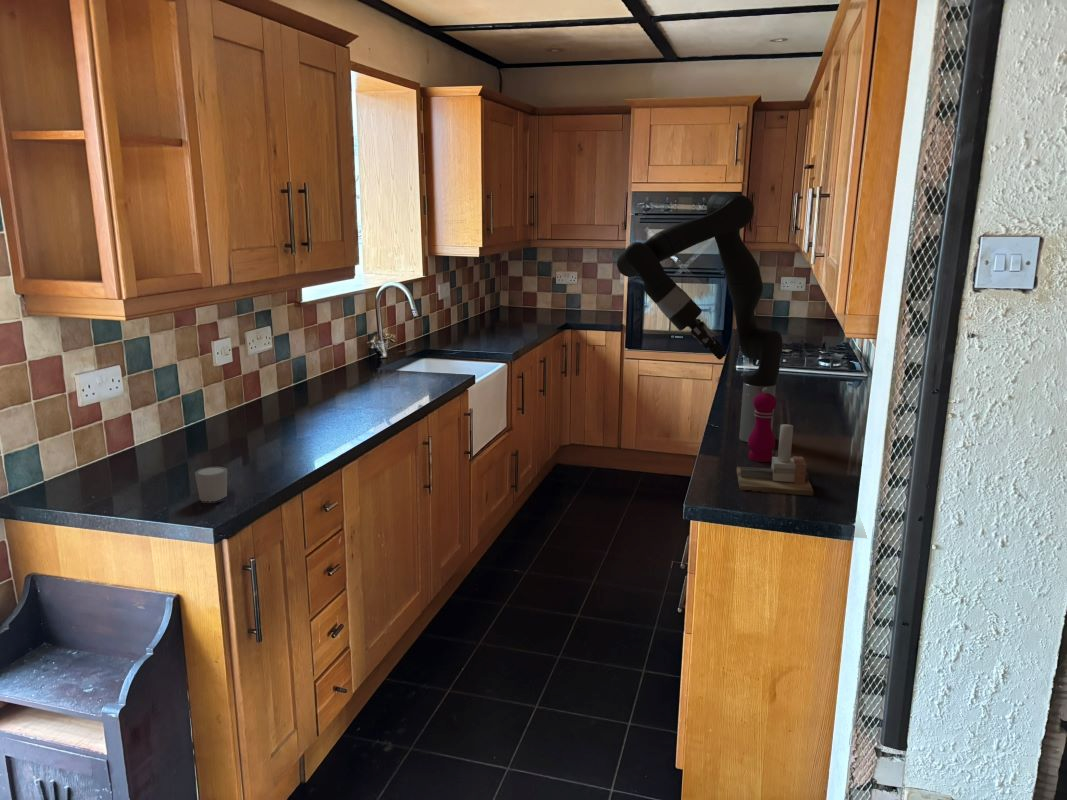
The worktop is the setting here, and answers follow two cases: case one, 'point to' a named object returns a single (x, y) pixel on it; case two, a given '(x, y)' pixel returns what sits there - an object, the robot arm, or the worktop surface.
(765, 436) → the pepper mill
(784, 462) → the white handled block
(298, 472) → the worktop surface
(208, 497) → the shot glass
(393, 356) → the worktop surface
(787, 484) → the track
